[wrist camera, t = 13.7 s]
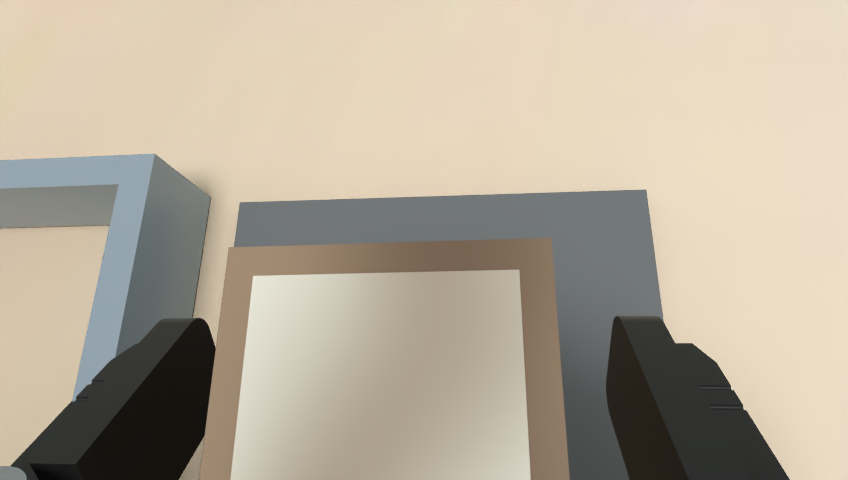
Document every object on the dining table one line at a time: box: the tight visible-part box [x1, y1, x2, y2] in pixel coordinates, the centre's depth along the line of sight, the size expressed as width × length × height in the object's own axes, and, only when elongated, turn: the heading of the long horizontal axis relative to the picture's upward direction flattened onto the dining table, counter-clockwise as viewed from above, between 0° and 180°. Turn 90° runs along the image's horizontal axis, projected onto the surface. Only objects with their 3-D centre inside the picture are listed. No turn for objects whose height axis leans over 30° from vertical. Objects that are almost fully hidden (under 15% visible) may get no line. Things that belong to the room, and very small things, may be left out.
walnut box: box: [199, 238, 570, 480], centre depth 11 cm, size 5×5×9 cm
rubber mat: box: [234, 190, 663, 480], centre depth 16 cm, size 14×14×1 cm
